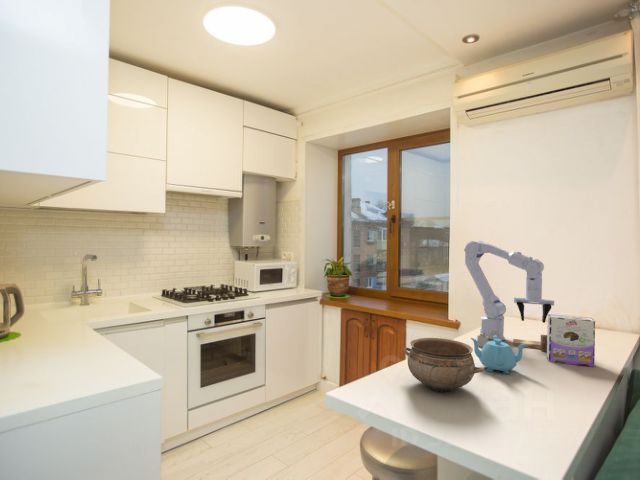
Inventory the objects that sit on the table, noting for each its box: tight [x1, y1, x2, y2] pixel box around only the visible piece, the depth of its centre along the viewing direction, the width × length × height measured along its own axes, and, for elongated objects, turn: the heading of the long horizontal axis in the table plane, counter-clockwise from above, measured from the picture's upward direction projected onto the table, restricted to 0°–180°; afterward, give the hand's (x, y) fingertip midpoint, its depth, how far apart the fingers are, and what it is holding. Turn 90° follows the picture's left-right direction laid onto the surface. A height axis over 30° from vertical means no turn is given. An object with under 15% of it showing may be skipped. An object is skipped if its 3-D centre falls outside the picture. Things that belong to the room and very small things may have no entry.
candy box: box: [546, 313, 596, 368], centre depth 135 cm, size 14×6×16 cm, turn 65°
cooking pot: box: [402, 337, 485, 393], centre depth 111 cm, size 25×19×12 cm
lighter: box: [476, 329, 497, 348], centre depth 152 cm, size 7×2×8 cm, turn 46°
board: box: [513, 338, 541, 350], centre depth 154 cm, size 15×6×2 cm, turn 69°
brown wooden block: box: [539, 334, 547, 353], centre depth 151 cm, size 4×8×6 cm, turn 160°
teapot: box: [470, 334, 527, 375], centre depth 127 cm, size 13×13×10 cm
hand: (533, 321), depth 156 cm, fingers open, 7 cm apart
